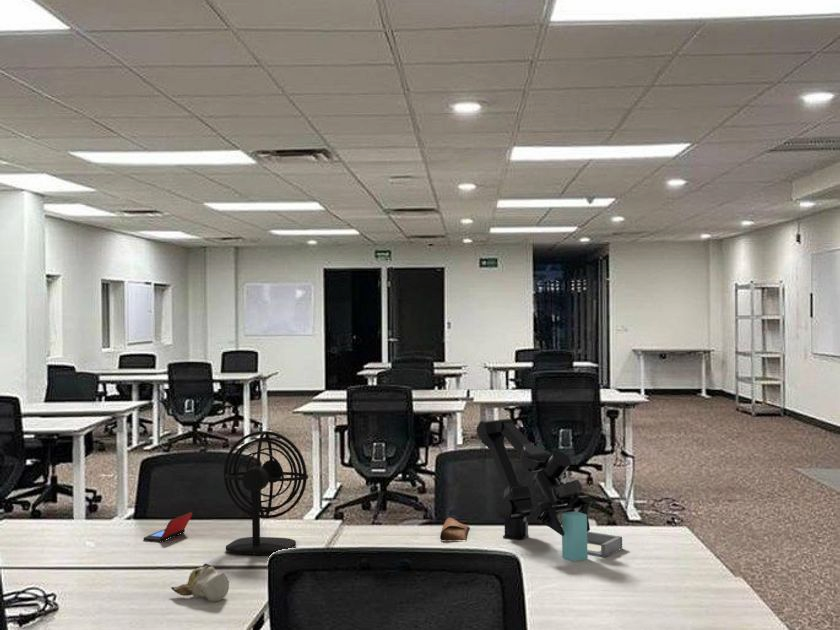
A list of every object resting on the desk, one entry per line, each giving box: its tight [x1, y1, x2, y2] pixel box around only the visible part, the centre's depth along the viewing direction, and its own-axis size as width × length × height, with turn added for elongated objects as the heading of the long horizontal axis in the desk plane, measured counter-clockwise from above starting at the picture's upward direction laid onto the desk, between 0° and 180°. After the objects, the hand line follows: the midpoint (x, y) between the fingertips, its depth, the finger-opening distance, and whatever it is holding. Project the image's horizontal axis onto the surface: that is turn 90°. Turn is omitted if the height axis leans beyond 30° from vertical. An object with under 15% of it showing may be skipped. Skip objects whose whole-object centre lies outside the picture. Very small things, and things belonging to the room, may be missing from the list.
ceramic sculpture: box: [171, 563, 230, 602], centre depth 213 cm, size 11×9×15 cm
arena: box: [587, 530, 623, 558], centre depth 251 cm, size 11×11×4 cm
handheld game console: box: [143, 511, 193, 543], centre depth 274 cm, size 12×11×7 cm
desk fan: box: [223, 430, 309, 556], centre depth 258 cm, size 27×18×35 cm, turn 78°
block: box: [561, 511, 589, 562], centre depth 243 cm, size 5×5×12 cm
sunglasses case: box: [439, 517, 470, 541], centre depth 272 cm, size 18×7×7 cm
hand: (576, 532), depth 242 cm, fingers open, 9 cm apart
